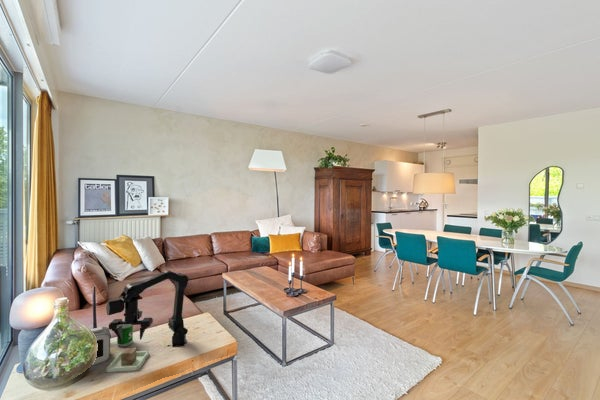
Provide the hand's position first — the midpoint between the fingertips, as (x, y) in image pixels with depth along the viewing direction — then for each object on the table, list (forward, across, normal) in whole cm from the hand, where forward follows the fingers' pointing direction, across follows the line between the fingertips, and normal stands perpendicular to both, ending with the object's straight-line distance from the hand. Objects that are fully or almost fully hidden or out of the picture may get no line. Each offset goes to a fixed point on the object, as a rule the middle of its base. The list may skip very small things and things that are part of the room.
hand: (131, 339), depth 143 cm
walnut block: (+11, 0, +1) cm, 11 cm away
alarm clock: (+11, +20, -3) cm, 23 cm away
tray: (+11, 0, +1) cm, 11 cm away
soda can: (+11, +10, -18) cm, 24 cm away
